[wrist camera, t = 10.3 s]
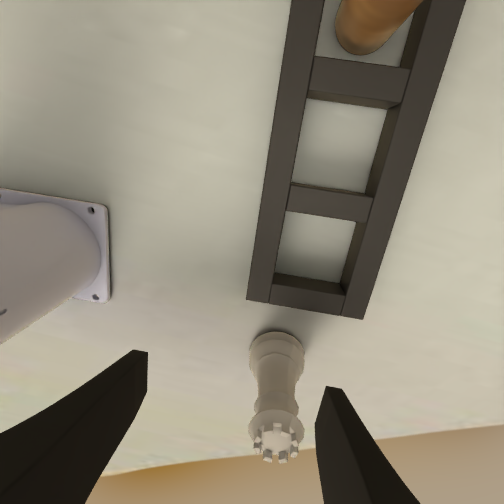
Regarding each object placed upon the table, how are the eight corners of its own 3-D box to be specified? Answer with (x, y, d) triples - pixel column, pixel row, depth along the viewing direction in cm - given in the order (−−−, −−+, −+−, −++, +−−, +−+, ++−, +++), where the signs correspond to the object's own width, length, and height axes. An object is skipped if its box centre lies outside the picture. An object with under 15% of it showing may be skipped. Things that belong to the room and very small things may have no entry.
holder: (248, 287, 21) (245, 300, 19) (306, -87, 14) (310, -126, 12) (355, 305, 21) (363, 320, 19) (469, -68, 14) (500, -104, 12)
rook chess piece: (270, 318, 22) (266, 403, 14) (315, 347, 22) (334, 444, 15) (239, 354, 23) (220, 449, 15) (282, 381, 23) (284, 486, 16)
